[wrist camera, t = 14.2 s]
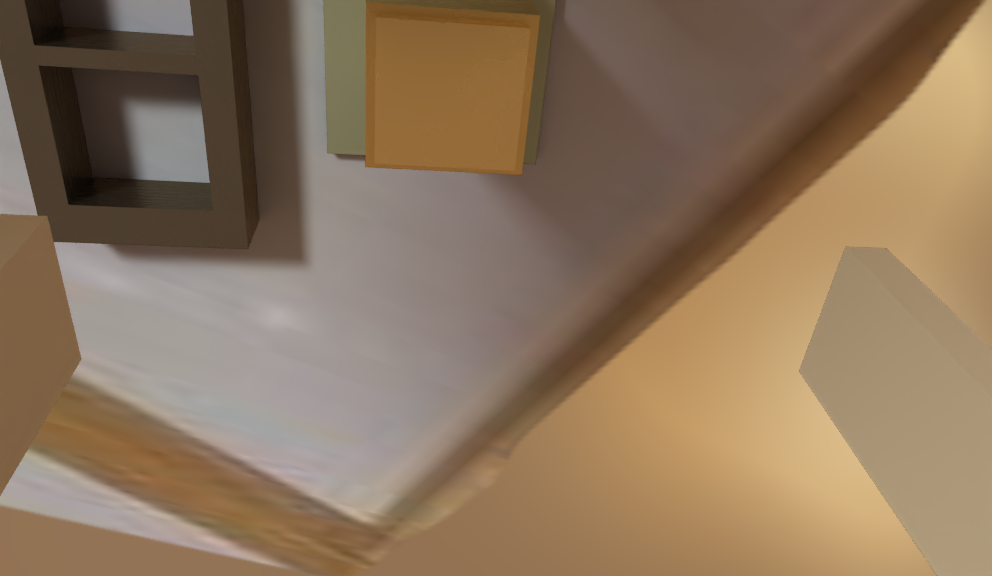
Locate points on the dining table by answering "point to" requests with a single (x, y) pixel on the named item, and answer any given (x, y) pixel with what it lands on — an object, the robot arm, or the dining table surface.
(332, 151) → the mat
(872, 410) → the robot arm
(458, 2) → the wooden block
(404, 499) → the dining table surface
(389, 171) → the dining table surface
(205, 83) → the grey compartment tray
